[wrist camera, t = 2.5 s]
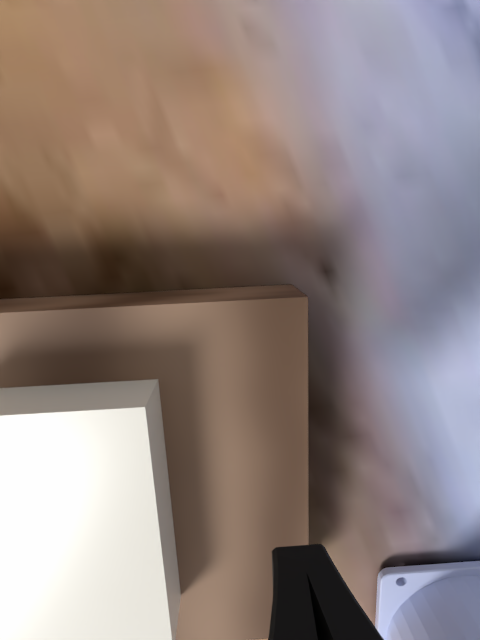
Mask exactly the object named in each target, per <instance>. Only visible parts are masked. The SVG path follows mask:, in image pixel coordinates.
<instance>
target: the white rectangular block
mask: <svg viewBox="0 0 480 640" xmlns="http://www.w3.org/2000/svg"><path fill="white" fill-rule="evenodd" d="M180 598H181V592H180V583H179V573H178V563H177V554H176V544H175V535H174V525H173V516H172V506H171V497H170V487H169V477H168V468H167V458H166V449H165V439H164V430H163V420H162V411H161V401H160V392H159V382H158V379H152V380H135V381H117V382H100V383H83V384H65V385H48V386H30V387H13V388H0V640H175V638H176V630H177V622H178V614H179V606H180Z"/></svg>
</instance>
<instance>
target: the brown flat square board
mask: <svg viewBox="0 0 480 640" xmlns="http://www.w3.org/2000/svg"><path fill="white" fill-rule="evenodd" d="M152 379H158V382H159V392H160V401H161V411H162V420H163V430H164V439H165V449H166V458H167V468H168V477H169V487H170V497H171V506H172V516H173V525H174V535H175V544H176V554H177V563H178V573H179V583H180V592H181V598H180V606H179V614H178V622H177V630H176V638H175V640H255V639H268V637H269V629H270V620H271V611H272V602H273V576H272V550H273V549H274V548H276V547H286V546H299V545H309V518H308V297H307V296H306V295H305V294H303V293H302V292H301V291H299V290H298V289H297V288H296V287H294V286H293V285H292V284H289V285H269V286H250V287H230V288H210V289H191V290H171V291H151V292H132V293H112V294H92V295H73V296H53V297H34V298H14V299H0V388H13V387H30V386H48V385H65V384H83V383H100V382H117V381H135V380H152Z"/></svg>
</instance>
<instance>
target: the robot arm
mask: <svg viewBox="0 0 480 640" xmlns="http://www.w3.org/2000/svg"><path fill="white" fill-rule="evenodd" d="M272 576H273V602H272V611H271V620H270V629H269V637H268V640H480V561H470V562H456V563H442V564H428V565H414V566H400V567H387V568H384V569H382V570H381V571H380V572H379V574H378V582H377V601H376V620H375V626H374V625H373V624H372V622H371V621H370V619H369V618H368V616H367V615H366V613H365V612H364V611H363V609H362V608H361V606H360V605H359V603H358V602H357V600H356V599H355V597H354V596H353V594H352V593H351V591H350V589H349V588H348V586H347V585H346V583H345V582H344V580H343V578H342V577H341V575H340V573H339V572H338V570H337V568H336V567H335V565H334V563H333V562H332V560H331V558H330V556H329V554H328V553H327V551H326V549H325V547H324V546H323V545H321V544H313V545H299V546H286V547H276V548H274V549H273V550H272Z"/></svg>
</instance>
